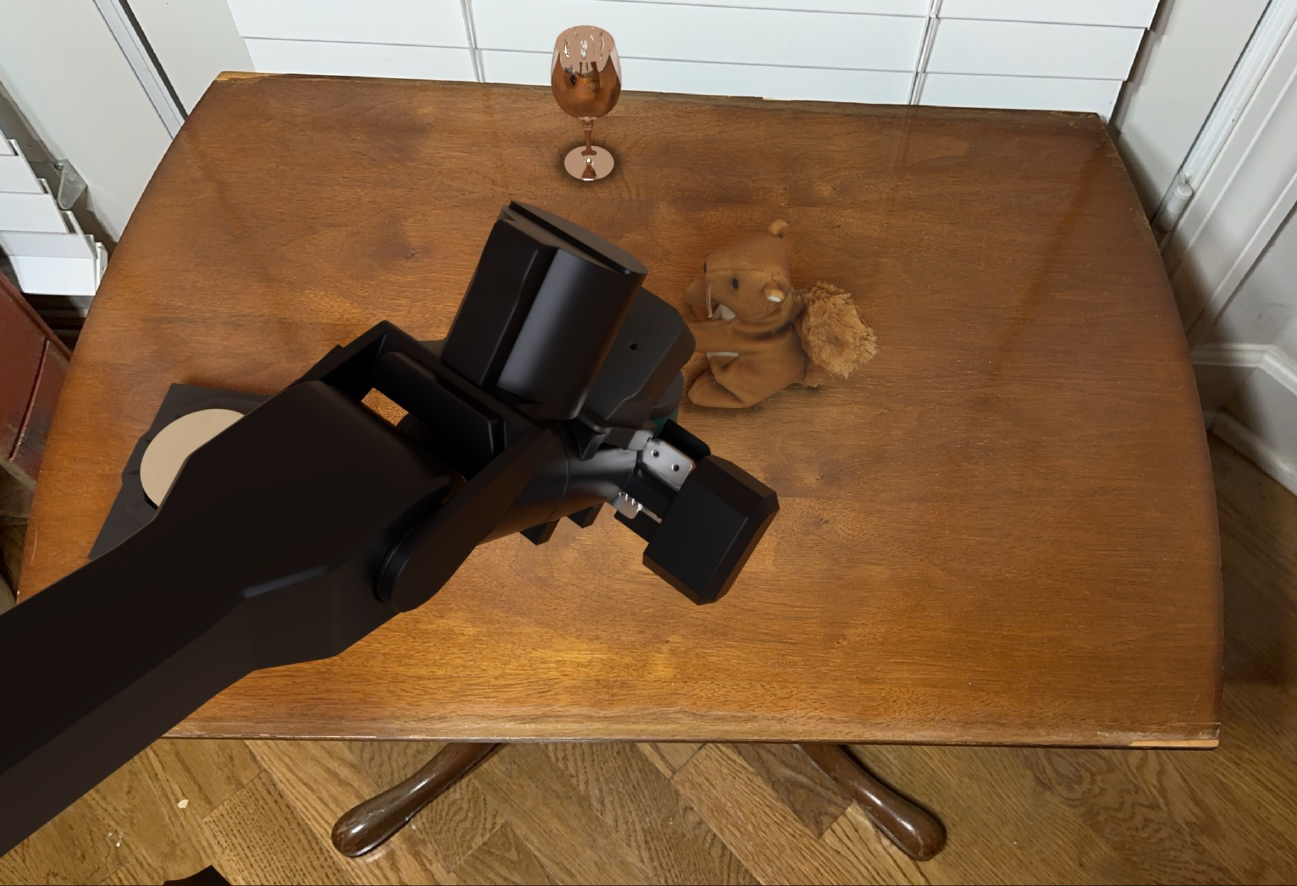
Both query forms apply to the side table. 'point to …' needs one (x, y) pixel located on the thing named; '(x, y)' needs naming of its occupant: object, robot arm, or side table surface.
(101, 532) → the button base
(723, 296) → the stuffed squirrel
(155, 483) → the pad disc
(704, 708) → the side table surface
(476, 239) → the side table surface
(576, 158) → the wineglass
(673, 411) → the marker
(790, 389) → the side table surface
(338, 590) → the robot arm
